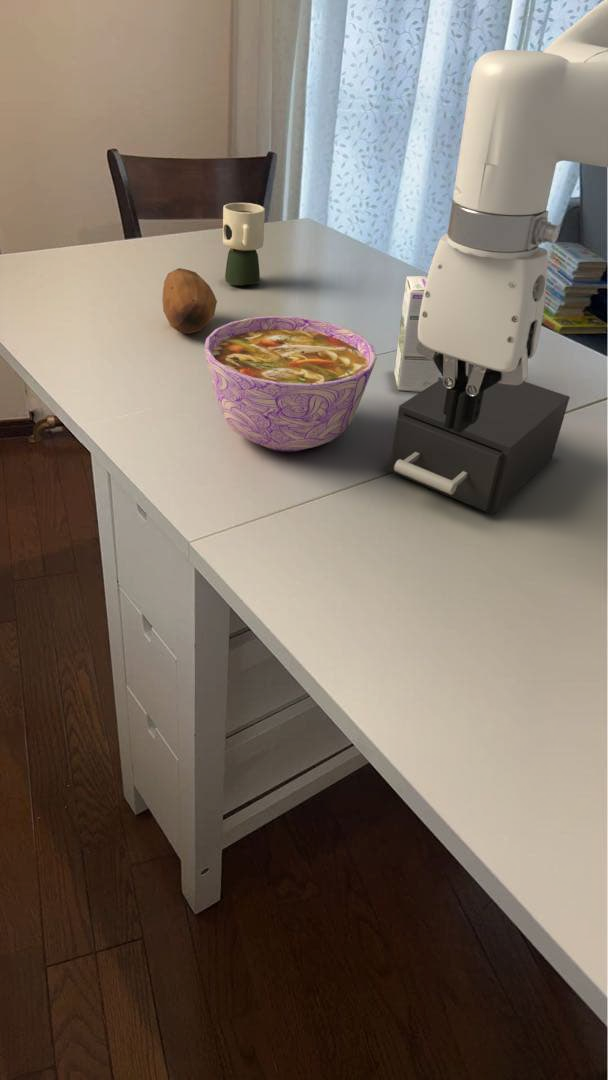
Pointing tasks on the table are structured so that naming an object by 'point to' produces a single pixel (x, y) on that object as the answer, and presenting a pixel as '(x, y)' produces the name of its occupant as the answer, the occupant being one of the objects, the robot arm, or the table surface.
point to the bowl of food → (288, 379)
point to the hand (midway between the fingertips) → (459, 425)
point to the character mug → (243, 241)
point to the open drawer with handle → (445, 461)
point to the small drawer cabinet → (503, 428)
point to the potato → (187, 301)
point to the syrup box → (412, 343)
